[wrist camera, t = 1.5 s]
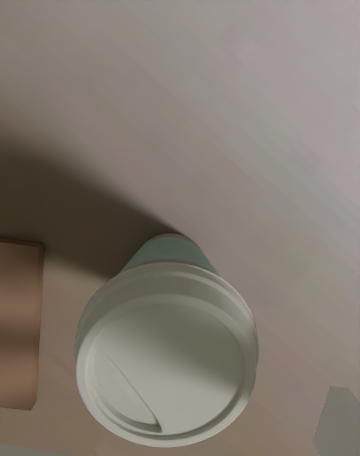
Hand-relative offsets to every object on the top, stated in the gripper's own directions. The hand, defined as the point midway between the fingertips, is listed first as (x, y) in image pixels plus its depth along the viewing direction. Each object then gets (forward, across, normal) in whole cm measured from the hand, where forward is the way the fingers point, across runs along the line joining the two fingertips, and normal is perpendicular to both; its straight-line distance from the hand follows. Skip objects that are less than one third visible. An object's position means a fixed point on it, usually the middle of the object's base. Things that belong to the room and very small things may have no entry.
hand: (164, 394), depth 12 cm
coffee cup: (+13, 0, 0) cm, 13 cm away
